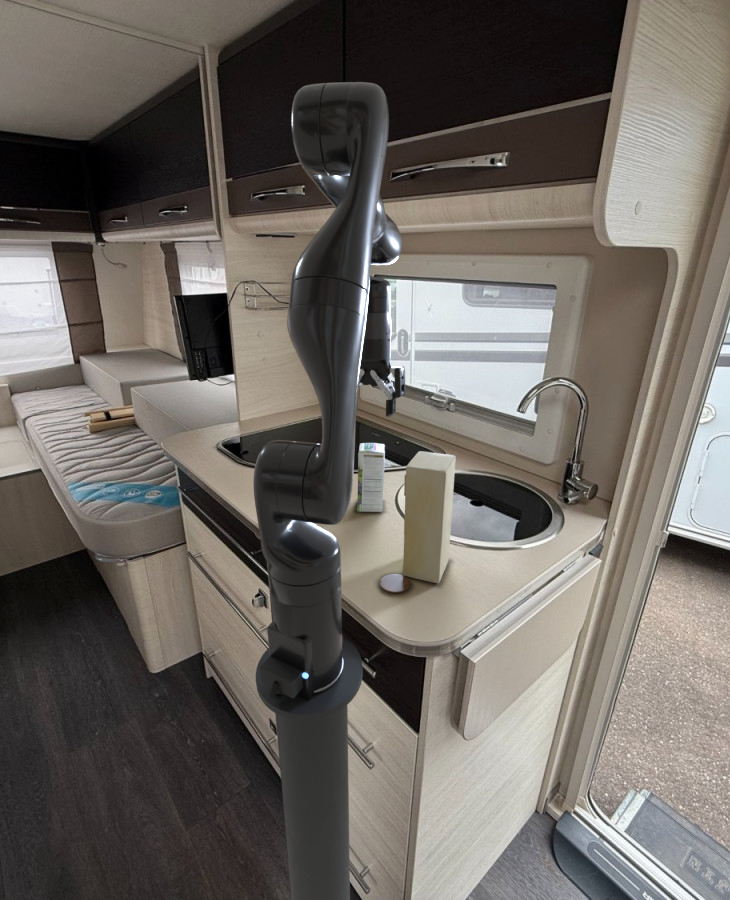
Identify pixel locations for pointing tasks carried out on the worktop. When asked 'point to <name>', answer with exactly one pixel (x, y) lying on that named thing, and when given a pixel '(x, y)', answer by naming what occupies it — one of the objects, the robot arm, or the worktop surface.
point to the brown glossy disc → (394, 583)
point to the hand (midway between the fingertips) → (371, 413)
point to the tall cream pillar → (428, 515)
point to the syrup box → (370, 477)
